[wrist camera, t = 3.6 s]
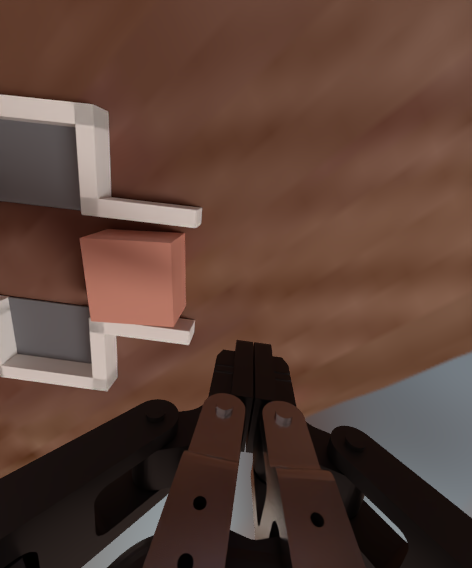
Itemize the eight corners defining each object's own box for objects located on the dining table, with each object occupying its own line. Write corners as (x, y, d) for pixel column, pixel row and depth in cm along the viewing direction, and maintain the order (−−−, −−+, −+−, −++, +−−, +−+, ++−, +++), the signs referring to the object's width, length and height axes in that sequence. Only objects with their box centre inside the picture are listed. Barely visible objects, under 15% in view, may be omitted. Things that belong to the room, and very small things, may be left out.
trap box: (207, 122, 20) (191, 103, 15) (190, 386, 27) (176, 430, 22) (-171, 81, 21) (-298, 52, 16) (-89, 348, 28) (-160, 383, 23)
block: (185, 232, 23) (170, 243, 19) (186, 304, 25) (173, 327, 21) (108, 228, 23) (79, 237, 19) (116, 300, 25) (90, 321, 21)
